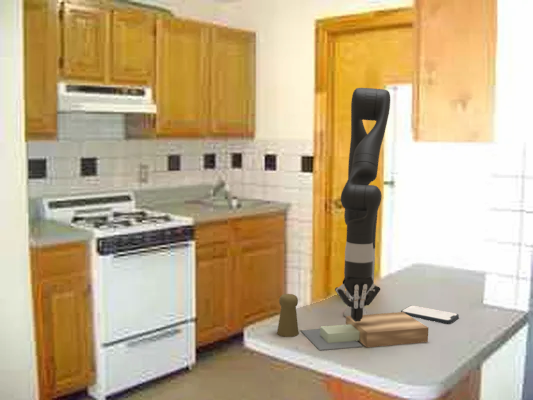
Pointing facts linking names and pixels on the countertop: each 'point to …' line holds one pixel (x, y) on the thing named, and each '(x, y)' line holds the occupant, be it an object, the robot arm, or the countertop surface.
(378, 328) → the board
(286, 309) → the pepper mill
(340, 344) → the mat
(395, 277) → the countertop surface
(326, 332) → the block
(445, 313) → the phone case
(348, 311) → the flask
